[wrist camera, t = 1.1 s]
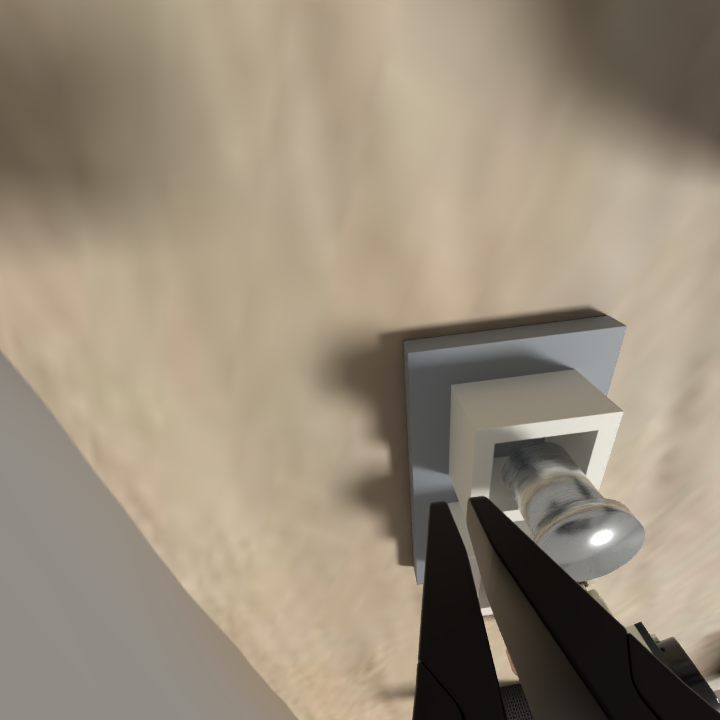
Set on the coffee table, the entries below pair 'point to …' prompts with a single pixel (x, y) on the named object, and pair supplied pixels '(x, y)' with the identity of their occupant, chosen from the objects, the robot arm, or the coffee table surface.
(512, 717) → the phone
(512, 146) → the coffee table surface
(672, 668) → the pneumatic valve
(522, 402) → the board
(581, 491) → the plug metal
